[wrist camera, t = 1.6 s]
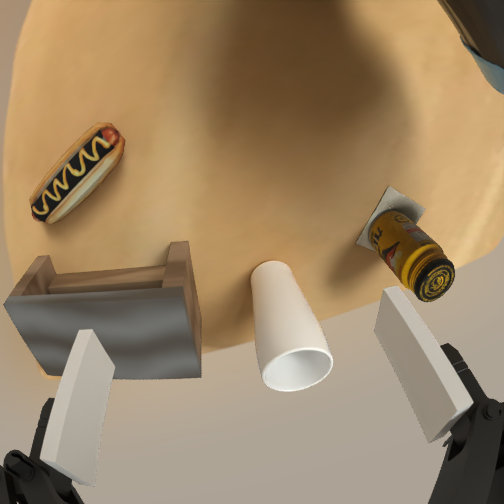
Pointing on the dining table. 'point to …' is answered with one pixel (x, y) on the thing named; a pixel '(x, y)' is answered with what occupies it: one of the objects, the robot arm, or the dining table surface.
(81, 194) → the hot dog
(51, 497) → the robot arm
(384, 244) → the condiment
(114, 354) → the gray-topped wooden box
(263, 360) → the white tapered cylinder
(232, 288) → the dining table surface
